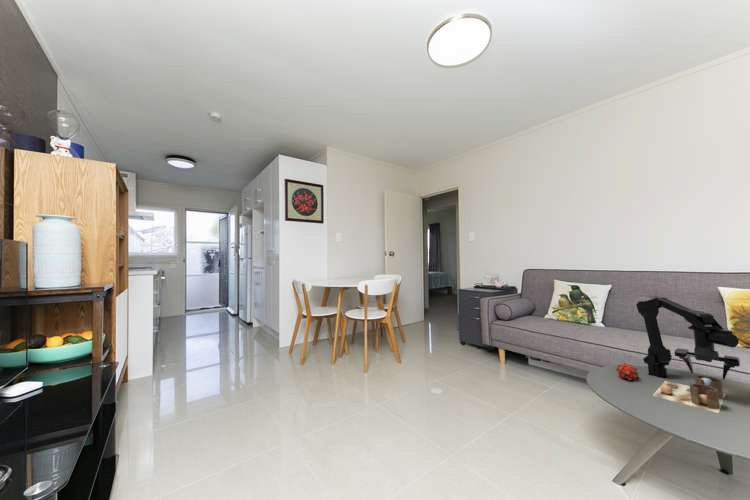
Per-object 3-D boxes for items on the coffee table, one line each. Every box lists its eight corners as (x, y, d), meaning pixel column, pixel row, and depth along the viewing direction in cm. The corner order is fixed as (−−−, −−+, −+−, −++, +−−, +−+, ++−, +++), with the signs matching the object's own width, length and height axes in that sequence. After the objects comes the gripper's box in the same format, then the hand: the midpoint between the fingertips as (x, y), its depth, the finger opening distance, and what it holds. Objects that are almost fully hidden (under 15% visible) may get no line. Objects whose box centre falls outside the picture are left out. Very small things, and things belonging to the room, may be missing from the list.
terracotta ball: (659, 393, 127) (658, 384, 127) (661, 391, 129) (660, 382, 130) (672, 396, 124) (671, 387, 124) (674, 394, 126) (673, 385, 126)
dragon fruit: (630, 378, 149) (630, 389, 140) (613, 366, 153) (611, 376, 145) (642, 368, 145) (642, 379, 136) (623, 356, 150) (623, 366, 141)
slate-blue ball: (704, 379, 127) (695, 378, 128) (712, 377, 124) (702, 375, 125) (710, 389, 125) (700, 387, 125) (718, 386, 122) (708, 385, 122)
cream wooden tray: (652, 396, 125) (650, 379, 126) (665, 381, 140) (663, 366, 141) (718, 414, 110) (716, 394, 110) (725, 395, 125) (723, 378, 125)
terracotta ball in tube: (697, 404, 117) (696, 394, 117) (698, 401, 119) (697, 391, 120) (712, 407, 114) (711, 397, 114) (713, 404, 116) (712, 394, 116)
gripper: (670, 340, 129) (673, 374, 128) (736, 349, 114) (740, 388, 113) (675, 336, 135) (678, 368, 135) (738, 344, 120) (742, 380, 119)
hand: (707, 376), depth 125 cm, fingers open, 9 cm apart
